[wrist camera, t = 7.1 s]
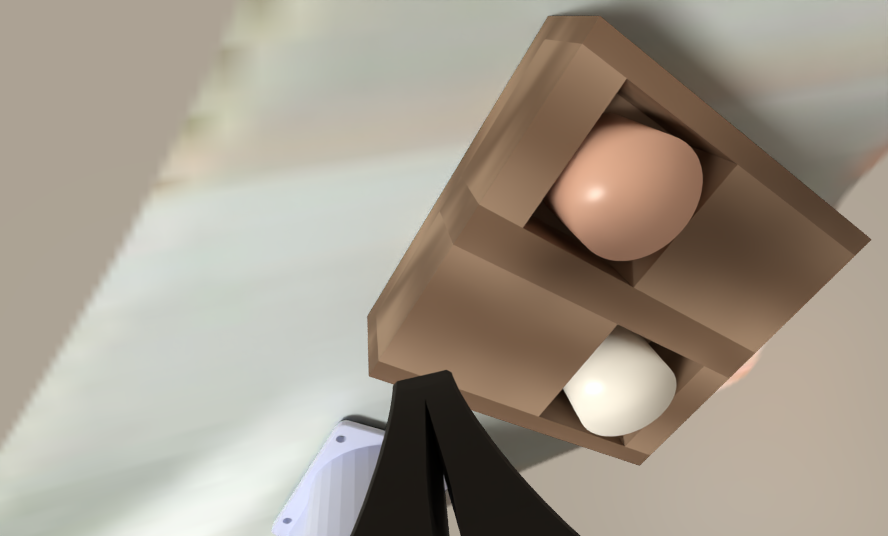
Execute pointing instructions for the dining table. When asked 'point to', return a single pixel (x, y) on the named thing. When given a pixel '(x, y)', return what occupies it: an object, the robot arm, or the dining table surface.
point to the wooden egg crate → (588, 275)
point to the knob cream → (621, 385)
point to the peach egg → (627, 189)
